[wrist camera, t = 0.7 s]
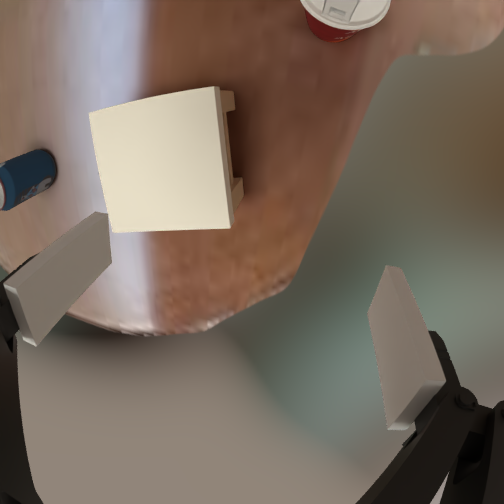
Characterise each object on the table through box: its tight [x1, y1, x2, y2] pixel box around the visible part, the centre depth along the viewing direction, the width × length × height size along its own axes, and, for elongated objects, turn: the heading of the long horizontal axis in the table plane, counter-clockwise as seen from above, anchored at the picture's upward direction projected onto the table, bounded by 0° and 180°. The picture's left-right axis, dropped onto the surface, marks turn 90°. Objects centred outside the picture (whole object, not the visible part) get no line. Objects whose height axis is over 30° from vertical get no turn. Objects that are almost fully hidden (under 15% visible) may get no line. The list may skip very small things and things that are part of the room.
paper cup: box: [300, 0, 391, 42], centre depth 23 cm, size 8×8×14 cm
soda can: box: [0, 150, 56, 211], centre depth 38 cm, size 7×7×12 cm
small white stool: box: [89, 86, 244, 233], centre depth 35 cm, size 14×14×10 cm
